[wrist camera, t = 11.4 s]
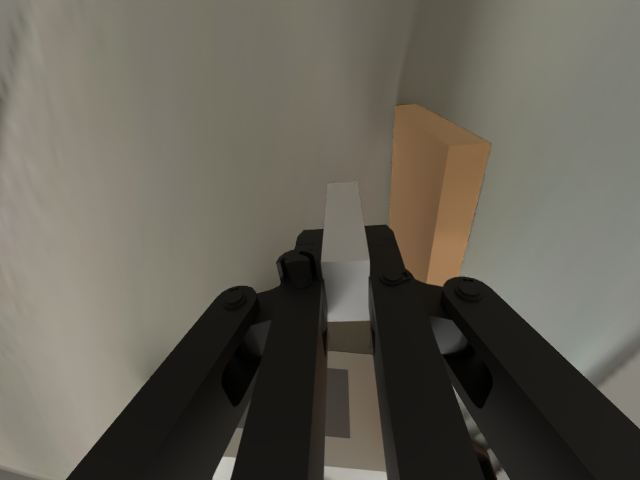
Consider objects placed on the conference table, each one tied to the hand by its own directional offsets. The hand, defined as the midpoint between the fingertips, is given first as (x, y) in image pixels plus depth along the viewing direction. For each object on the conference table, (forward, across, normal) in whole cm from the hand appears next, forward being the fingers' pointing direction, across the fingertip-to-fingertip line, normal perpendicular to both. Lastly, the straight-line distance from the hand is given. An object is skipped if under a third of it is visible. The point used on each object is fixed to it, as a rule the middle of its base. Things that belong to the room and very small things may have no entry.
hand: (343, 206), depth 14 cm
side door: (+4, +4, -9) cm, 10 cm away
